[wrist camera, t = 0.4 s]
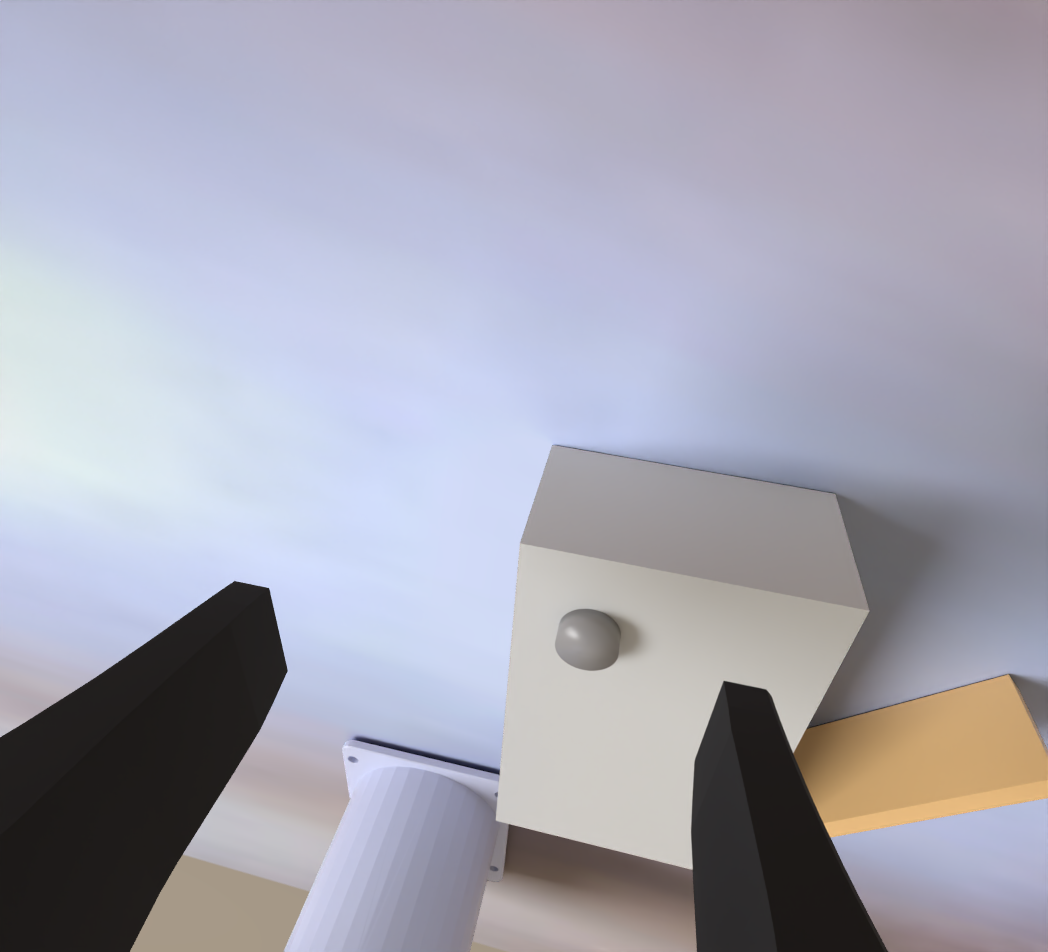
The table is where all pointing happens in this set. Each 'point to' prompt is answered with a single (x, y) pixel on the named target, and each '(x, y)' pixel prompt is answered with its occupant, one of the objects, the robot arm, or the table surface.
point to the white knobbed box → (659, 638)
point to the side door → (925, 759)
